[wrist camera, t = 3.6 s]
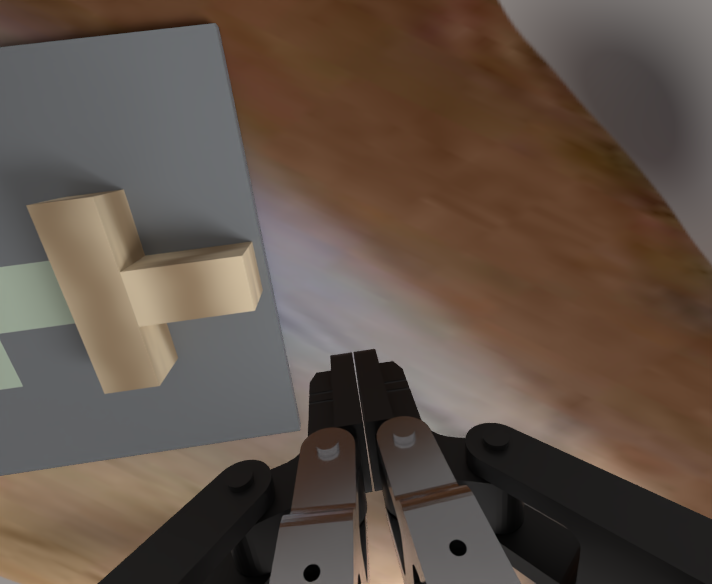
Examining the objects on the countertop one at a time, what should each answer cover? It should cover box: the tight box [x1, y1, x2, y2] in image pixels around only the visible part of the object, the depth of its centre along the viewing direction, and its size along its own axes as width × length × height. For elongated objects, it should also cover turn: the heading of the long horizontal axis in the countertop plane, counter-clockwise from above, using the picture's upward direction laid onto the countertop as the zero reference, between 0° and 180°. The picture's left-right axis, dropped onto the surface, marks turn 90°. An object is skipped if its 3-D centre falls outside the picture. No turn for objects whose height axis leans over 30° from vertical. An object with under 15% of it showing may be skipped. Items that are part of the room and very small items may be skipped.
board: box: [0, 23, 301, 476], centre depth 27 cm, size 24×28×1 cm
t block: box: [26, 189, 263, 394], centre depth 25 cm, size 10×12×4 cm
